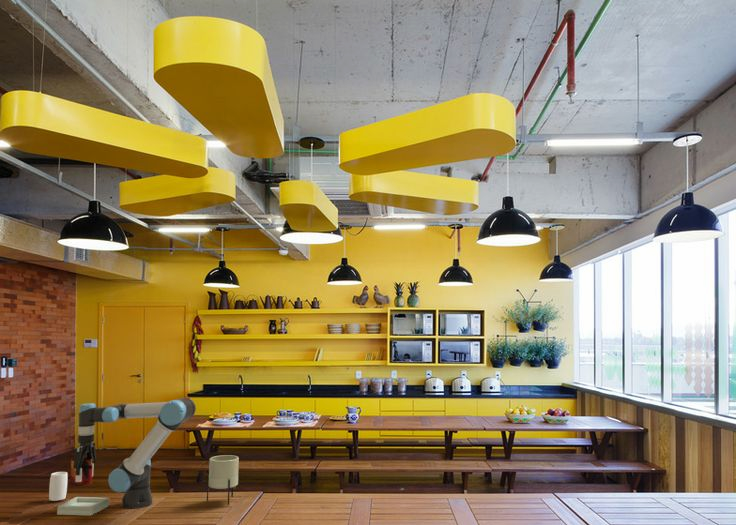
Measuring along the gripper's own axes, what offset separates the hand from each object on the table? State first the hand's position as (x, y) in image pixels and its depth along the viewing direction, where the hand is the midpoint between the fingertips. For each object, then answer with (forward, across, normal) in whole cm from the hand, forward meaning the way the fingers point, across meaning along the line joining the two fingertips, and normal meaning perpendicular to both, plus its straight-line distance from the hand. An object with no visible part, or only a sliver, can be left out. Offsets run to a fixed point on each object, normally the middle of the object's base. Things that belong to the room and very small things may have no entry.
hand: (84, 479), depth 288 cm
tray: (+15, 0, 0) cm, 15 cm away
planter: (+17, -19, +66) cm, 71 cm away
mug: (+2, 0, 0) cm, 2 cm away
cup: (+15, -14, -23) cm, 30 cm away
